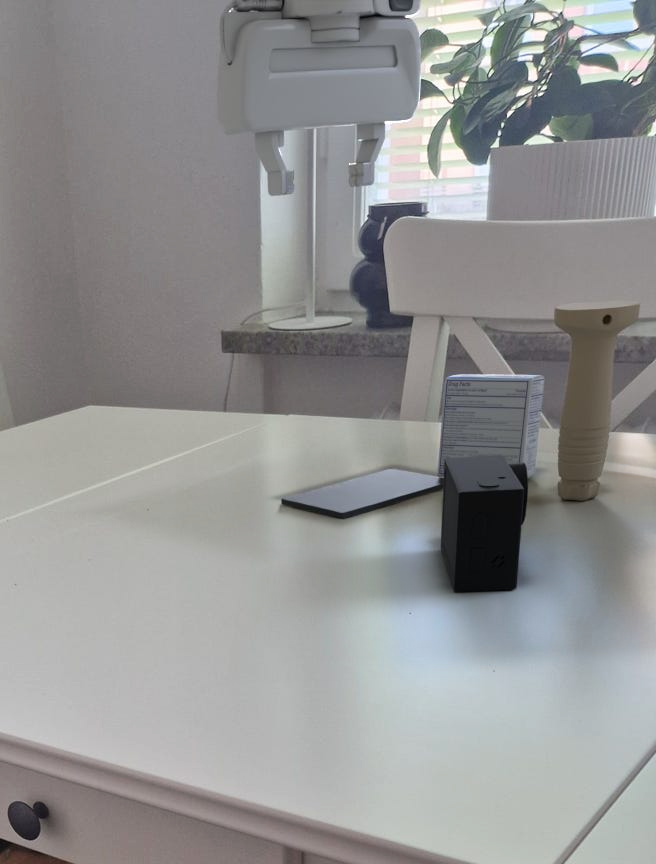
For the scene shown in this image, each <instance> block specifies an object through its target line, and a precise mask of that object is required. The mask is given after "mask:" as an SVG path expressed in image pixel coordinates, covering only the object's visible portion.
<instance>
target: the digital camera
mask: <svg viewBox="0 0 656 864" xmlns="http://www.w3.org/2000/svg"><path fill="white" fill-rule="evenodd" d="M443 478H444V480H443V489H442V502H441V503H442V504H441V505H442V507H441V528H440V530H441V531H440V552H441V555H442V559H443V561H444V565H445V567H446V571H447V573H448V578H449V580H450V583H451V586H452V590H453V592H454V593H459V592H483V591H484V592H487V591H509V590H510V591H511V590H516V589H517V587H518V576H519V565H520V551H521V538H522V526H524V523H525V519H526V515H527V507H528V497H529V480H528V479H529V478H528V476H527V468H526V464H525V463H509V464H508V462H507V461H506V459H505V458H504V456H503V455H490V456H470V457H449V458H445V459H444V477H443Z"/></svg>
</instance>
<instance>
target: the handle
mask: <svg viewBox="0 0 656 864" xmlns="http://www.w3.org/2000/svg"><path fill="white" fill-rule="evenodd" d="M640 309H641V302H640V301H637V300H631V299H630V300H629V299H612V300H611V299H609V300H592V301H581V302H572V303H565V304H559V305H555V306H554V309H553V324H554V325H555V326H556V327H557V328H558V329H560V330H561V331H563V332H565V333H566V334H568V336H570V354H569V360H568V361H569V362H568V367H567V368H568V369H567V376H566V384H565V391H564V397H563V403H562V410H561V415H560V421H559V422H560V423H559V426H560V427H559V431H558V434H559V435H558V444H557V450H558V451H557V471H558V477H559V478H560V480H558V481H557V494H558V496H559V498H560V497H561V498H562V499H563V500H566V501H579V502H584V501H587V500H589V499H595V498H596V497H597V496H598V495H599V491H600V487H601V481H599V478H600V477H601V476H602V474H603V471H604V466H605V462H606V457H607V450H608V447H609V440H610V431H611V430H610V429H611V426H610V425H611V421H612V420H611V414H612V399H613V377H614V364H615V363H614V362H615V349H616V345H617V338H618V335H619V334H620V333H621V332H623V331H624V330H625V329H627V328H628V327H631V326H632V325H634V323H636V322H637V321H638V319H639V316H640Z"/></svg>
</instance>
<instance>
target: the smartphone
mask: <svg viewBox="0 0 656 864" xmlns="http://www.w3.org/2000/svg"><path fill="white" fill-rule="evenodd" d="M443 480H444V477H439V476H434V475H428V474H424V473H418V472H414V471H407V470H403V469H397V468H392V467H391V468H388V469H384V470H380V471H377V472H374V473H370V474H369V473H368V474H366V475H363V476H359V477H355V478H352V479H348V480H345V481H341V482H337V483H333V484H329V485H326V486H323V487H319V488H315V489H312V490H308V491H305V492H301V493H297V494H293V495H289V496H287V497H282V498H281V499H280V502H281V503H280V504H281V505H284V506H287V507H292V508H297V509H301V510H303V511H304V510H305V511H308V512H312V513H313V512H314V513H317V514H320V515H321V514H322V515H326V516H330V517H334V518H339V519H341V520H342V519H343V520H344V519H347V518H351V517H353V516H357V515H360V514H364V513H367V512H370V511H374V510H377V509H380V508H381V509H382V508H384V507H387V506H390V505H394V504H397V503H401V502H405V501H407V500H411V499H414V498H418V497H421V496H424V495H428V494H431V493H434V492H439V491H441V490H443Z"/></svg>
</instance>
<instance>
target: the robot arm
mask: <svg viewBox="0 0 656 864" xmlns="http://www.w3.org/2000/svg"><path fill="white" fill-rule="evenodd" d="M421 3H422V0H231V1H230V2H229V3H228V4H227V5H226V6H225V7H224V9H223V11H222V13H221V15H220V16H219V17H220V18H219V23H218V28H219V45H220V46H219V54H218V66H217V83H216V85H217V86H216V88H217V89H216V117H217V122H218V124H219V126H220V127H221V129H222V131H223V133H224V134H225V135H227V136H234V135H236V136H237V135H247V134H249V135H250V134H254V150H255V152H256V154H257V156H258V158H259V160H260V162H261V164H262V167H263V168H264V170H265V173H266V176H267V192H268V195H269V196H270V197H276V196H287V195H292V194H294V191H295V184H294V180H295V170H294V169H289V170H288V169H287V165H286V163H285V161H284V158H283V154H282V152H281V150H280V148H282V147H284V146H285V132H287V131H300V130H301V131H302V130H312V129H313V130H315V129H327V128H328V129H329V128H339V127H353V126H356V140H357V141H361V143H360V144H359V145H360V146H359V149H358V152H357V155H356V158H355V161H354V163H349V164H348V175H349V177H348V185H349V187H351V188H355V187H356V188H357V187H369V186H372V185H373V184H374V183H375V168H376V167H375V165H376V164H375V163H376V162H377V159H378V157H379V154H380V152H381V150H382V148H383V144H384V142H385V140H386V124H392V123H394V124H395V123H403V122H409V121H411V120H412V119H413V118H414V115H415V113H416V111H417V109H418V107H419V104H420V98H421V97H420V96H421V79H422V77H421V76H422V75H421V73H422V70H421V68H422V66H421V65H422V64H421V63H422V62H421V61H422V59H421V58H422V57H421V56H422V55H421V54H422V53H421V52H422V51H421V49H422V48H421V37H420V32H419V28H418V26H417V24H416V22H415V21H414V20H413V19H412V18H410V17H413V16H415V15H417V14H418V13H419V11H420V9H421ZM231 10H233V11H231Z"/></svg>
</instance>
